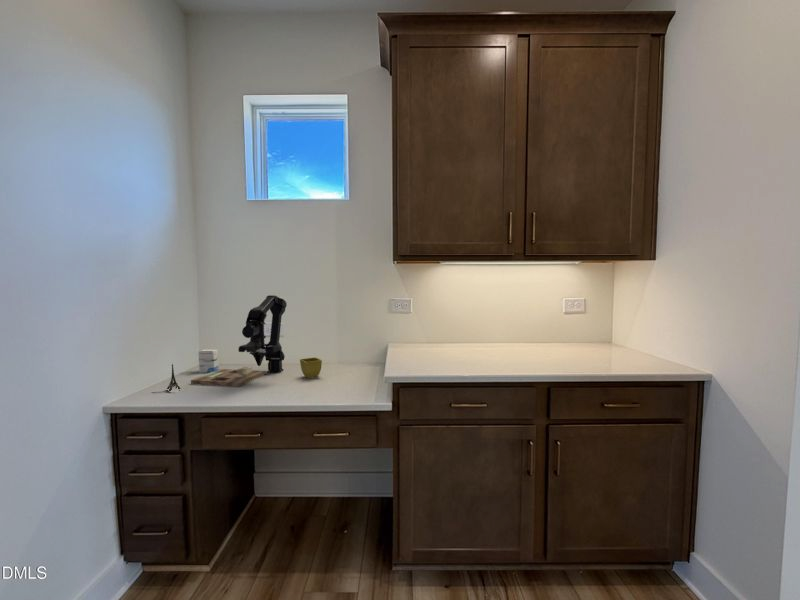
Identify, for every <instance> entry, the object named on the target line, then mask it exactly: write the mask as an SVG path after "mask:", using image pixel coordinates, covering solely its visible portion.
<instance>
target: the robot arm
mask: <svg viewBox="0 0 800 600" xmlns="http://www.w3.org/2000/svg"><path fill="white" fill-rule="evenodd" d="M287 305H288V304H287V301H286V300H285V299H284V298H280V297H279V296H278V295H274V294H273V295H272V294H271V295H267V296H266V297H265V299H264V300H263V301H262V302H261V303H260V304H259V305H258V306H255V307H253V308H251V309H250V310H249V312H248V314H247V317H246V321H245V326H243V328H242V331H241V333H242V335H243V337H244V338H246V339H249V338H250V339H249V341H248V343H246V344H242V345H239V346H238V349H237V350H238V352H239V353H245V352H246V353H249V355H251V356H253V358H254V360H255V362H256V365H257V366H258V367H261V365H262V363H263V361H264V358H265V361H267V370H266V371H267V373H275V372H278V373H281V372H283V371H284V368H283V361H285V353H284V352H283V350H282V348H283V347H282V344H281V343H280V335H281V325H282V316H283V315H284V313H286V309H287ZM268 311H270V313H271V314H272V315H271V326H270V328H271V329H270V337H269V342H268V343H265V339H266V335H265V324H266V322H265V320H266V318H267V316H268V315H267V313H268Z"/></svg>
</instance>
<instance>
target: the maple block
mask: <svg viewBox="0 0 800 600" xmlns="http://www.w3.org/2000/svg"><path fill="white" fill-rule="evenodd" d="M236 370H237V377H249V376H251V375H252V370H253V367H252V366H241V367H238V368H237V369H236Z"/></svg>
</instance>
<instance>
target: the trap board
mask: <svg viewBox="0 0 800 600" xmlns="http://www.w3.org/2000/svg"><path fill="white" fill-rule="evenodd" d="M264 374H265V375H266V371H265V370H253V369H252V375H251V376H249V377H237V369H233V368H231V369H230V368H229V369H228V368H218V370H216V371H214V372H207V373H206V374H204V375H201V376H199V377H196V378H193V379H191V380H190V384H191V385H196V384H201V385H200V386H216V385H217V387H218V386H219V387H236V386H237V387H243V386H245V385H247V384H248V382H249V383H250V381H251V382H252V380H253V381H254V379H255V380H256V378H257V379H258V377H259V378H261V377H263V376H265V375H264ZM262 375H263V376H262ZM260 376H261V377H260ZM246 383H247V384H246Z"/></svg>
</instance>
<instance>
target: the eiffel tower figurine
mask: <svg viewBox="0 0 800 600" xmlns="http://www.w3.org/2000/svg"><path fill="white" fill-rule="evenodd" d="M170 379H171V380H170V382H169V383H168V384H169V385H168V386H167V387H166V389H169V391H171V390H172V388H177V387H178V389H181V387H180V386H179V385H178V382H177V381H176V377H175V373H174V364H173V363H172V364H171V378H170Z"/></svg>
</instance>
